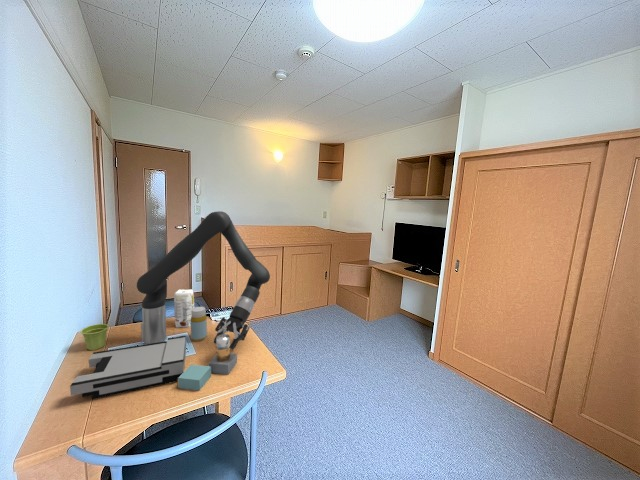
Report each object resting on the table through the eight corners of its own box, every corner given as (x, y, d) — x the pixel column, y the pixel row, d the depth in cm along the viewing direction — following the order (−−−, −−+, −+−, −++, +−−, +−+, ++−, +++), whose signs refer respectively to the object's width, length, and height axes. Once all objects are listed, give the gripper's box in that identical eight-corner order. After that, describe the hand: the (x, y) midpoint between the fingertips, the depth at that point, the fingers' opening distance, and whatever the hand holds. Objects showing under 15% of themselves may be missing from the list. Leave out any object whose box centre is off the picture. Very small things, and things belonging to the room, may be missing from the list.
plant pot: (111, 339, 125) (109, 322, 124) (108, 349, 117) (107, 330, 116) (84, 344, 120) (83, 326, 119) (80, 354, 112) (78, 335, 111)
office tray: (94, 369, 104) (93, 349, 103) (186, 353, 117) (185, 335, 116) (71, 406, 85) (69, 382, 84) (183, 382, 98) (182, 361, 97)
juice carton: (191, 327, 139) (190, 293, 137) (173, 328, 138) (172, 293, 136) (195, 321, 147) (194, 288, 144) (179, 322, 145) (178, 288, 143)
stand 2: (208, 372, 104) (208, 362, 103) (218, 360, 112) (218, 351, 111) (228, 374, 103) (228, 364, 102) (236, 362, 111) (236, 353, 110)
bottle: (209, 337, 130) (209, 308, 128) (196, 343, 124) (196, 313, 122) (201, 333, 134) (200, 305, 132) (188, 339, 128) (187, 309, 126)
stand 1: (178, 388, 94) (178, 377, 94) (191, 374, 102) (191, 364, 102) (199, 390, 94) (199, 380, 93) (211, 376, 102) (211, 366, 101)
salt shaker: (214, 361, 104) (213, 339, 103) (220, 354, 109) (220, 333, 108) (226, 362, 104) (226, 340, 103) (231, 355, 109) (231, 334, 108)
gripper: (225, 302, 115) (204, 338, 106) (251, 308, 109) (231, 347, 100) (234, 309, 120) (215, 344, 112) (259, 316, 114) (241, 354, 106)
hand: (223, 346), depth 106 cm, fingers open, 8 cm apart
